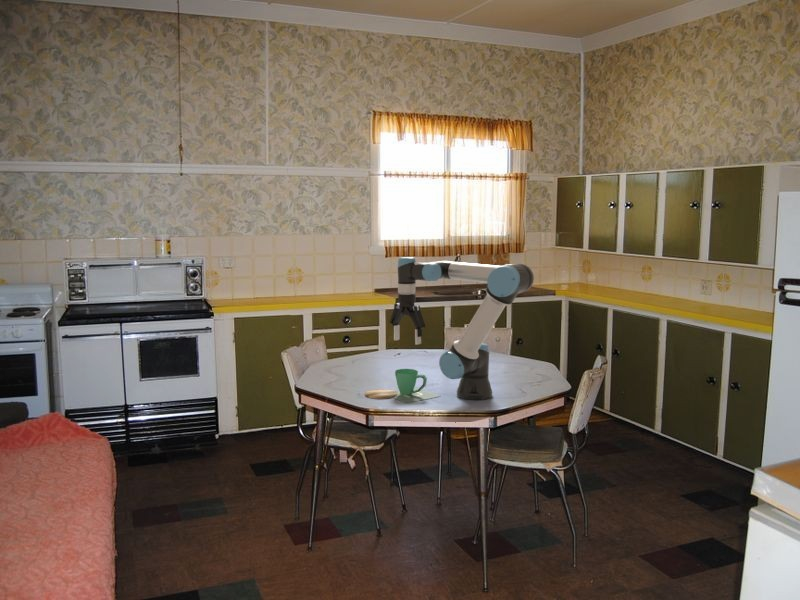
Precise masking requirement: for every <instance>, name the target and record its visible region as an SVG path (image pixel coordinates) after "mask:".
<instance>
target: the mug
mask: <svg viewBox="0 0 800 600" xmlns="http://www.w3.org/2000/svg"><path fill="white" fill-rule="evenodd" d="M394 376H395V379H396V380H395V381H396V385H397V389H398V390H399V391H400V394H401V395H411V394H413V393H416V392H419V391H421V390H423V389H424V388H425V387H426V385H427V379H428V378H427V376H426V375H425V374H419V371H418V370H417V369H415V368H398V369H396V370H395V371H394ZM419 378H420V379H422V385H420V387H419V388H418V390H414V388H416V383H417V379H419ZM413 390H414V391H413Z"/></svg>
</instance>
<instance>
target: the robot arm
mask: <svg viewBox="0 0 800 600" xmlns="http://www.w3.org/2000/svg"><path fill="white" fill-rule="evenodd" d="M440 279H445V280H446V279H447V280H457V281H467V282H473V283H474V282H476V283H486V284H487V285H486V288H485V293H486V295H485V297H484V298H483V300H482V302H481V304H480V305H479V307H478V308H477V310H476V312H475V313H474V315H473V317H472V318H471V320H470V322H469V324H468V325H467V327H466V328H465V331H464V332H463V333H462V335H461V337H460V338H459V339H457V340H454V342H453V343H452V345H451V346H450V348H449V350H448V351H445V352H444V353H442V354H441V355H440V358H439V361H438V363H439V365H438V366H439V370H440V371H441V373H442V374H443V376H445V377H446V378H447V379H449V380H458V379H459V383H458V387H457V389H456V396H457V397H458V398H461V399H465V400H471V401H472V400H474V401H476V400H477V401H479V400H480V401H481V400H487V399H490V398H492V397H493V388H492V387H491V383H490V379H489V371H490V369H489V368H490V364H489V363H490V347H489V345H488V343H484V342H485V339H486V338H487V337H488V335H489V333H490V332H491V330H492V329H493V328H494V326H495V324H496V322H497V320H498V319H499V318H500V316H501V314H502V312H504V309H505V307H506V306H511V305H512V303H513V302H514V301H515V299H516V297H517V295H519V294H522V293H525V292H526V291H528V290H529V289H530V290H531V288H532V286H533V284H534V280H535V276H534V272H533V270H532V269H531V268H530V267H529V266H528V265H526V264H524V263H510V264H509V263H505V264H503V265H493V264H483V263H482V264H481V263H470V262H461V261H459V262H458V261H452V260H447V259H443V260H439V261H430V262H417V261H416V258H415V257H413V256H403V257H402V256H401V257H399V258H398V260H397V293H398V295H397V301H398V302H397V303H394V305H393V307H394V308H393V310H392V312H391V313H392V314H391V316H390V319H389V324H392V331H393V341H400V336H401V335H400V334H401V333H400V327H401V325H400V322H401V320H402V319H403V317H404V315H405V316H409V317H410V319H411V321H412V323H413V324H414V326H415V329H414V341H415V343H414V344H415V345H422V336H423V331H422V330H423V329H425V328H426V323H425V321H424V317H423V315H422V311H421V306H420V305H415V303H416V302H417V301H416V300H417V295H416V281H427V282H437V281H438V280H440Z"/></svg>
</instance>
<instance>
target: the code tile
mask: <svg viewBox="0 0 800 600" xmlns="http://www.w3.org/2000/svg"><path fill="white" fill-rule="evenodd" d="M418 389H419V388H417V387H414V390H418ZM414 390H413V391H414ZM395 391H396V392H397V393H398V395H397V396H395V397H393V398H392V399H395V400H397V401H400V402H402V401H403V403H405V404H409V403H413V402H420V401H426V400H429V399H434V398H435V399H436V398H440V397H441V395H439V394H435V393H433V392H430V391H427V390H423V389H422V390H421V391H419V392H416V393H413V394H411V395H401V394H400V391H399V389H398V390H395Z"/></svg>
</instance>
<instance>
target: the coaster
mask: <svg viewBox="0 0 800 600" xmlns="http://www.w3.org/2000/svg"><path fill="white" fill-rule="evenodd" d="M396 391H397V390H392V389H385V388H383V389H382V388H379V389H377V388H376V389H370V390H367V391H365V393H364V396H365V397H367V398H369V399H373V400H389V399H394V398H393V397H395V396H397V395H398V393H397V392H396Z"/></svg>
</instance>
